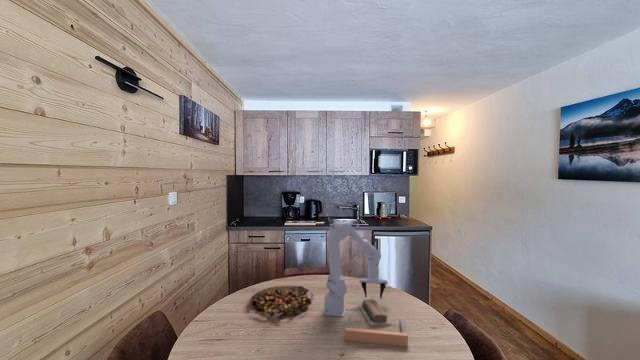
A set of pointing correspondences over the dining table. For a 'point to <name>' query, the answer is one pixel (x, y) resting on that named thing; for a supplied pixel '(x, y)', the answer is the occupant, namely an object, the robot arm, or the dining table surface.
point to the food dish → (281, 302)
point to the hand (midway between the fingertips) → (373, 297)
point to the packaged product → (374, 313)
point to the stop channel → (376, 335)
